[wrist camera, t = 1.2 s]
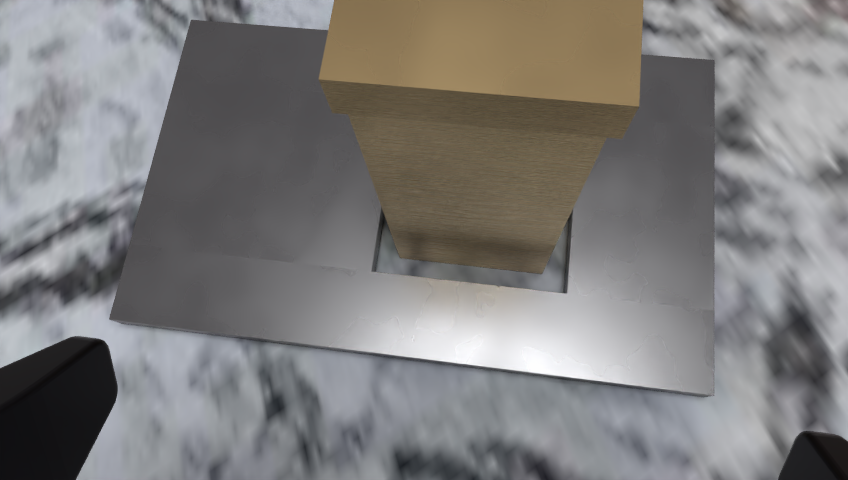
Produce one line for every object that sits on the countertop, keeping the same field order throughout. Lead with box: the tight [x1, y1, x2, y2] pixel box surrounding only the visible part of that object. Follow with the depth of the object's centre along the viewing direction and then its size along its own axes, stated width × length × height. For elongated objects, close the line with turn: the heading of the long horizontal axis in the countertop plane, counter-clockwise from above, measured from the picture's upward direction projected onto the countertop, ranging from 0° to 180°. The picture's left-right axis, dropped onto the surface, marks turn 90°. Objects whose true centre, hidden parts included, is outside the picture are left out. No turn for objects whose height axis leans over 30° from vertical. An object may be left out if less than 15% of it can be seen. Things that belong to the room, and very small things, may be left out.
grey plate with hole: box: [109, 20, 714, 397], centre depth 23 cm, size 12×20×1 cm, turn 82°
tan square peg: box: [319, 0, 643, 274], centre depth 17 cm, size 5×5×12 cm
